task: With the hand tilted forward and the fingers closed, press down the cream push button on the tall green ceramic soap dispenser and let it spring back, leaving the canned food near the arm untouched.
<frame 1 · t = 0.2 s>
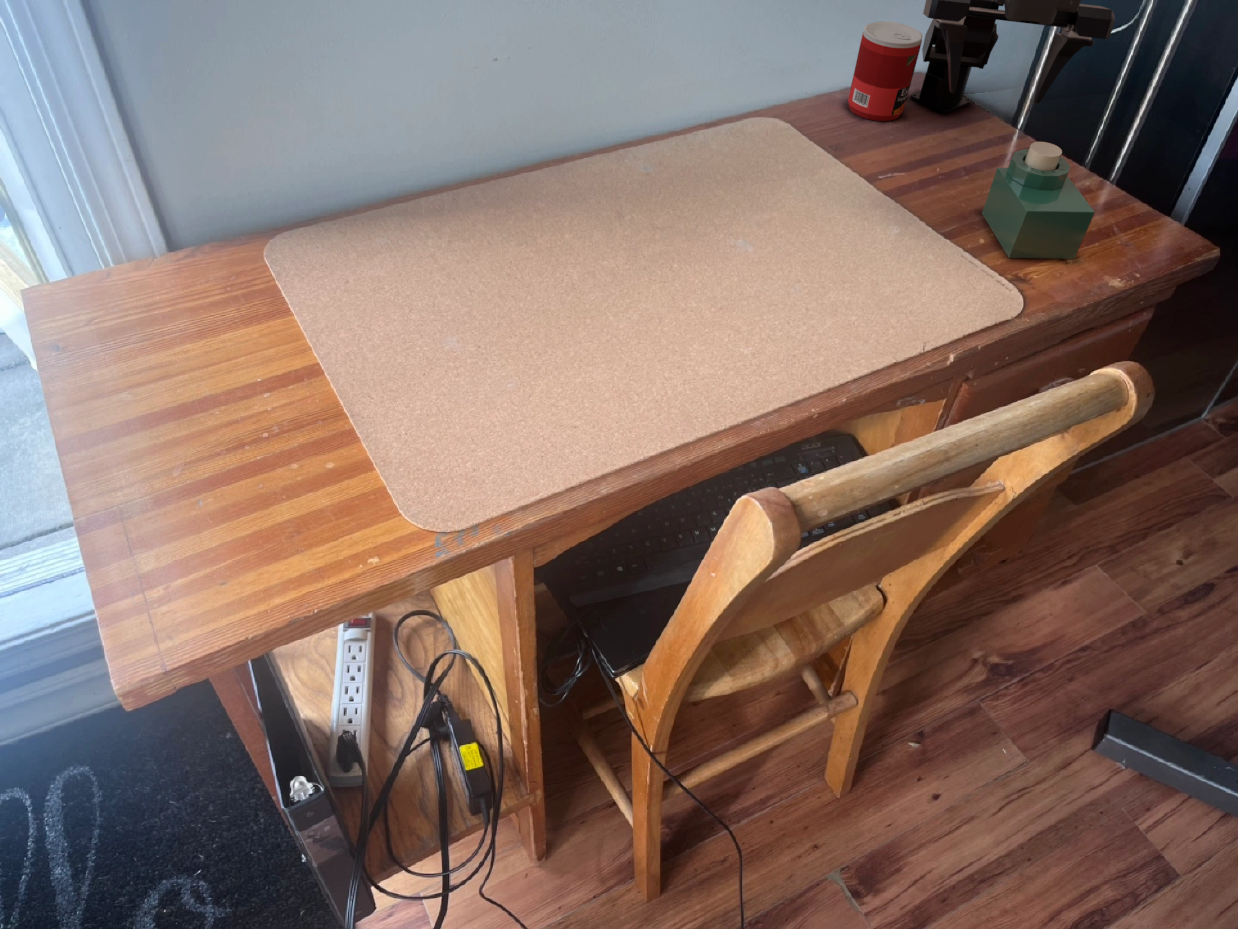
hand: (993, 97, 109), 15 cm above the table, tool pointing down, fingers open, 9 cm apart
canned food: (874, 111, 141), on the table
dispenser: (1026, 235, 118), on the table
cream push button: (1043, 156, 114), point 9 cm above the table, slide at 0.1 cm
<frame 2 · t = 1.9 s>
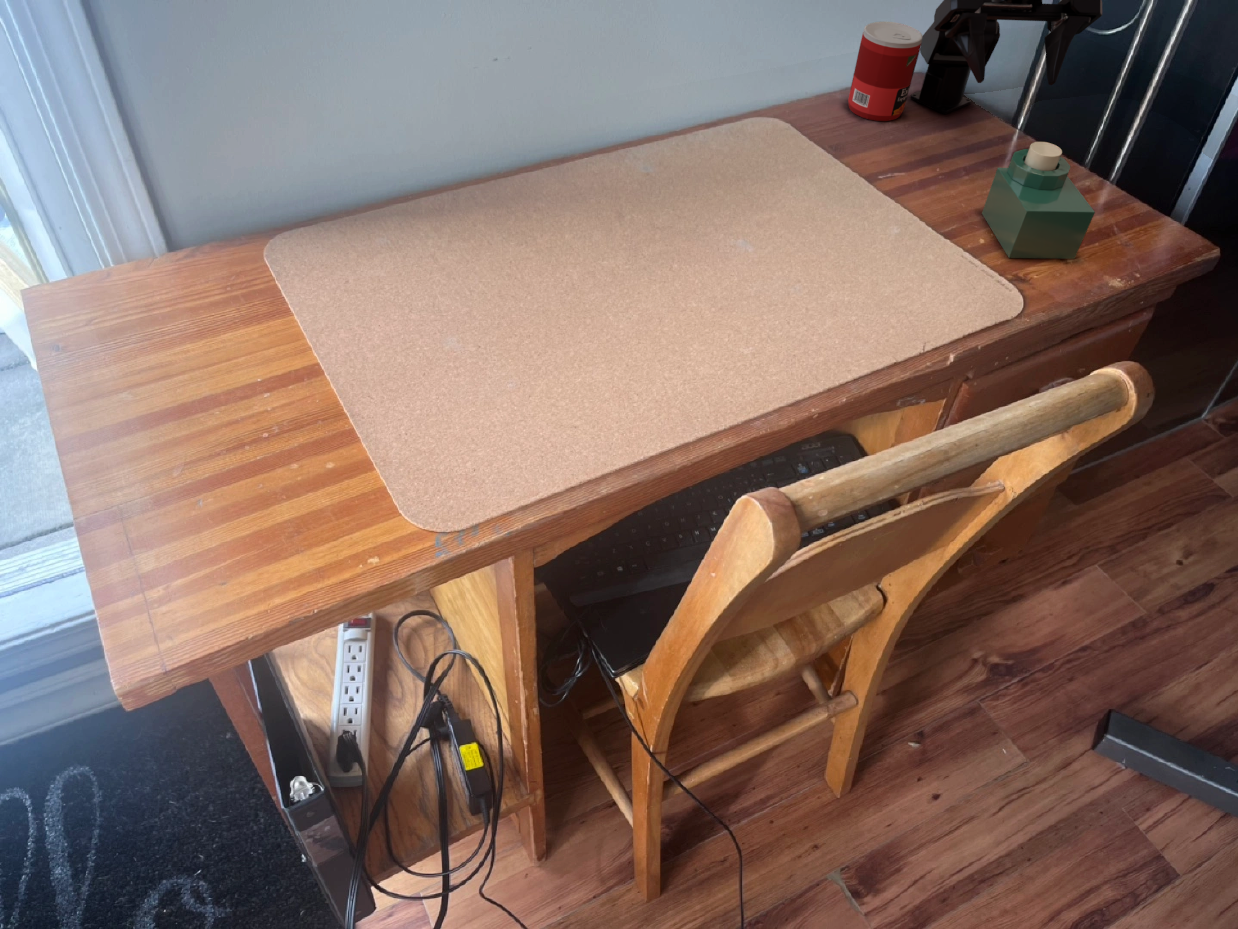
hand: (1016, 82, 120), 12 cm above the table, tool tilted 45°, fingers open, 9 cm apart
nothing on the table moved.
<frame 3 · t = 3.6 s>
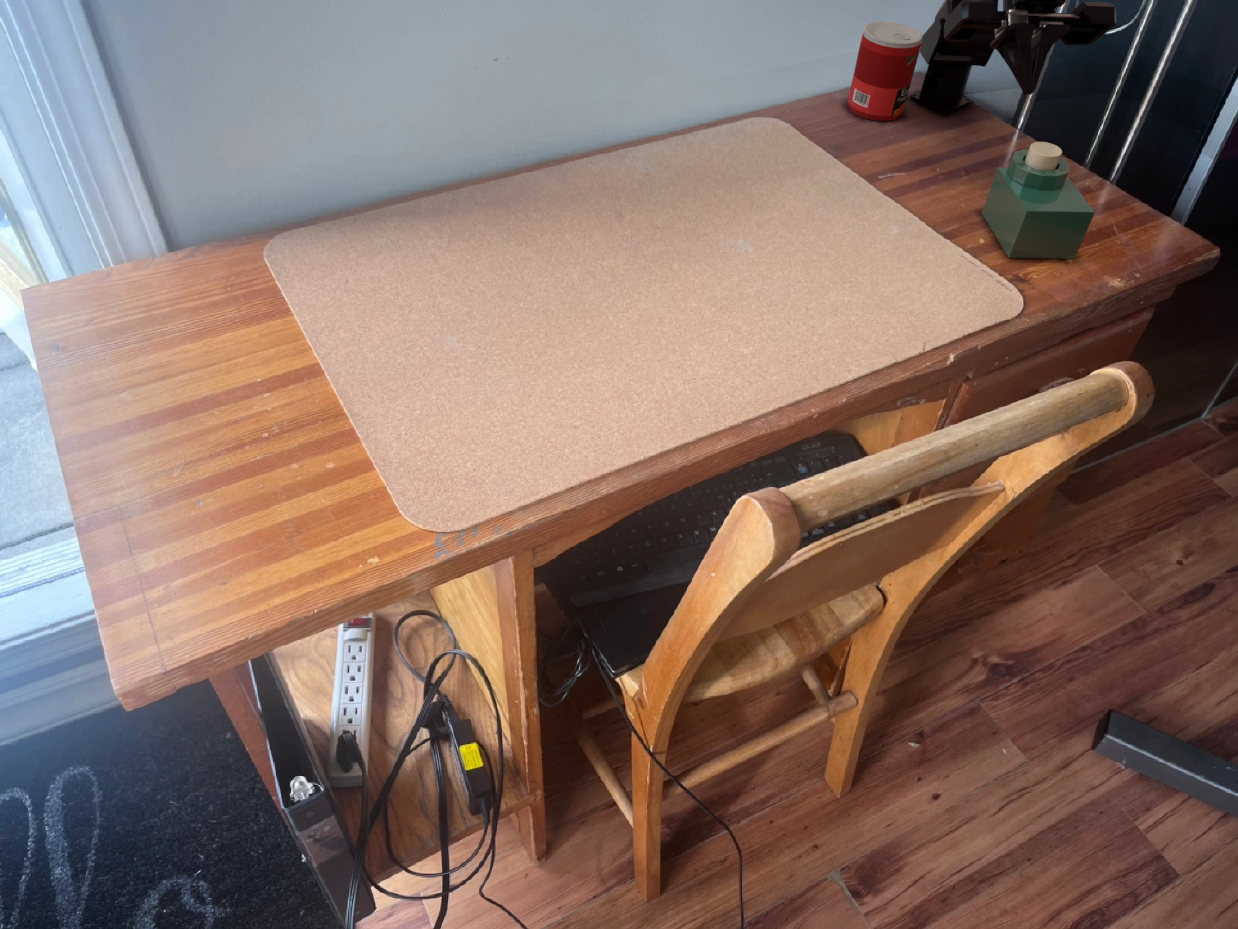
hand: (1029, 93, 117), 13 cm above the table, tool tilted 45°, fingers closed
nothing on the table moved.
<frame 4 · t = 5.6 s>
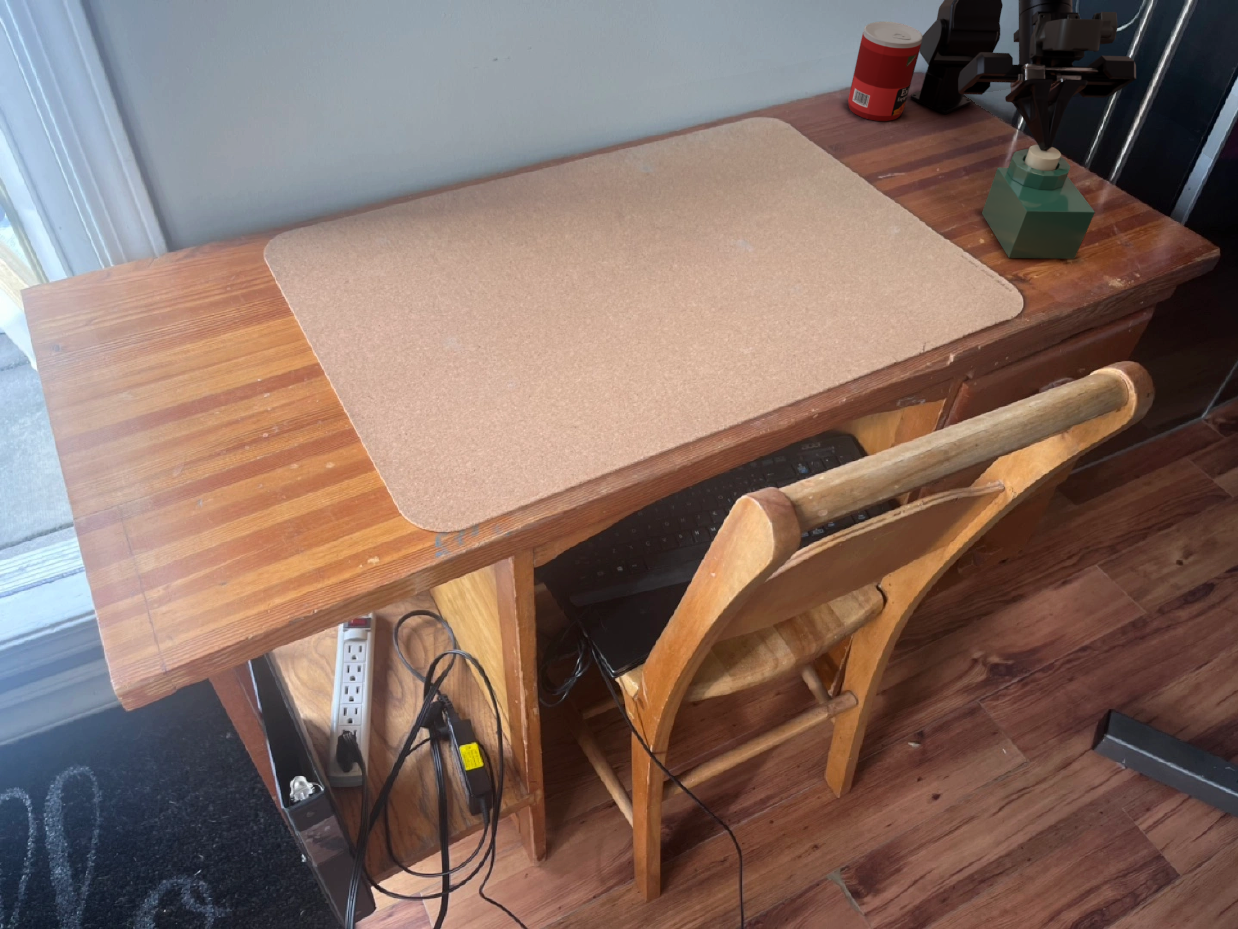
hand: (1046, 149, 114), 10 cm above the table, tool tilted 45°, fingers closed, pressing on cream push button
cream push button: (1042, 159, 115), point 8 cm above the table, slide at -0.3 cm, touching gripper
everything else where it was.
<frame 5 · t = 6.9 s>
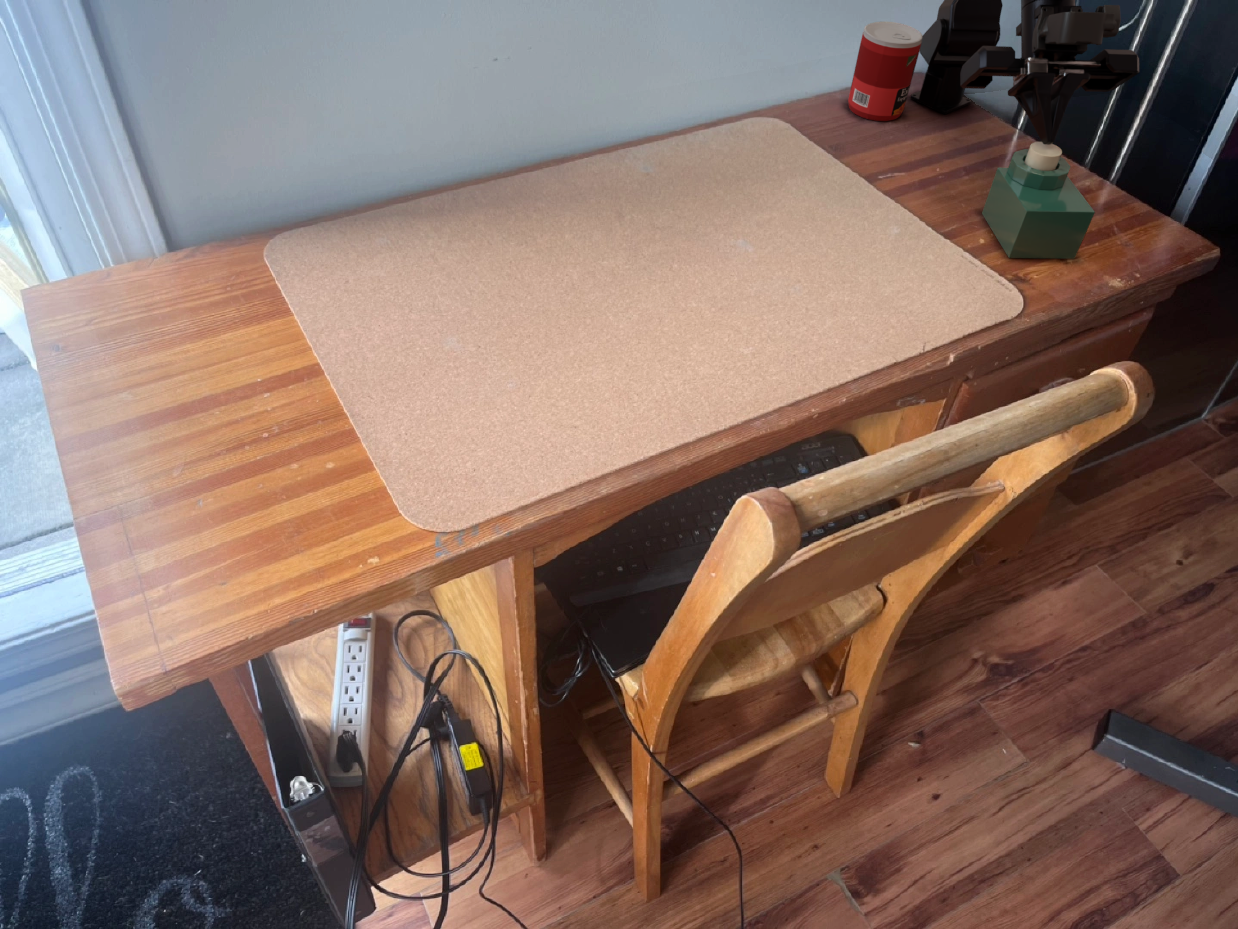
hand: (1048, 143, 113), 10 cm above the table, tool tilted 45°, fingers closed
cream push button: (1043, 156, 114), point 9 cm above the table, slide at 0.1 cm
everything else where it was.
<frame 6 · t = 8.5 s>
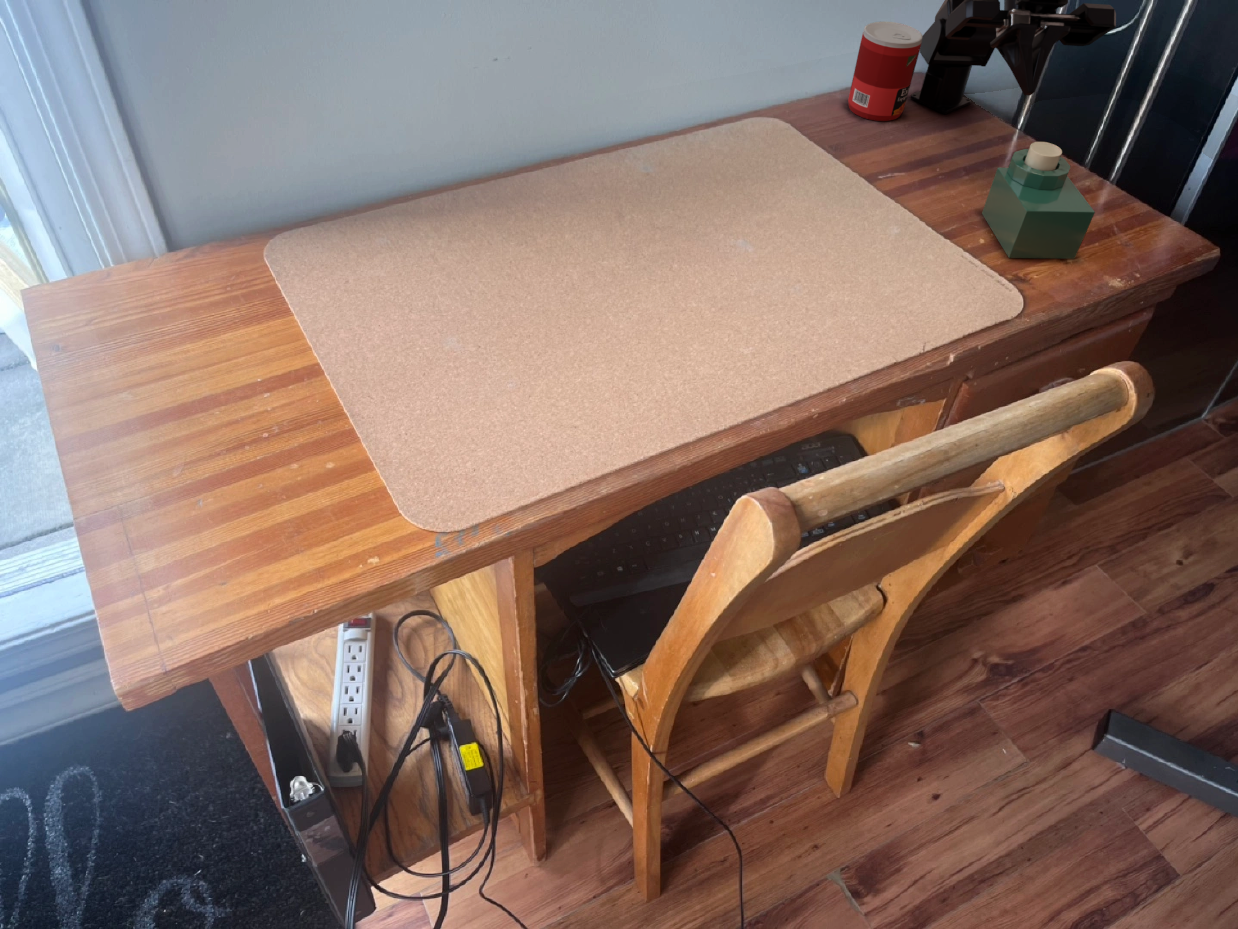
hand: (1029, 93, 117), 13 cm above the table, tool tilted 45°, fingers closed
nothing on the table moved.
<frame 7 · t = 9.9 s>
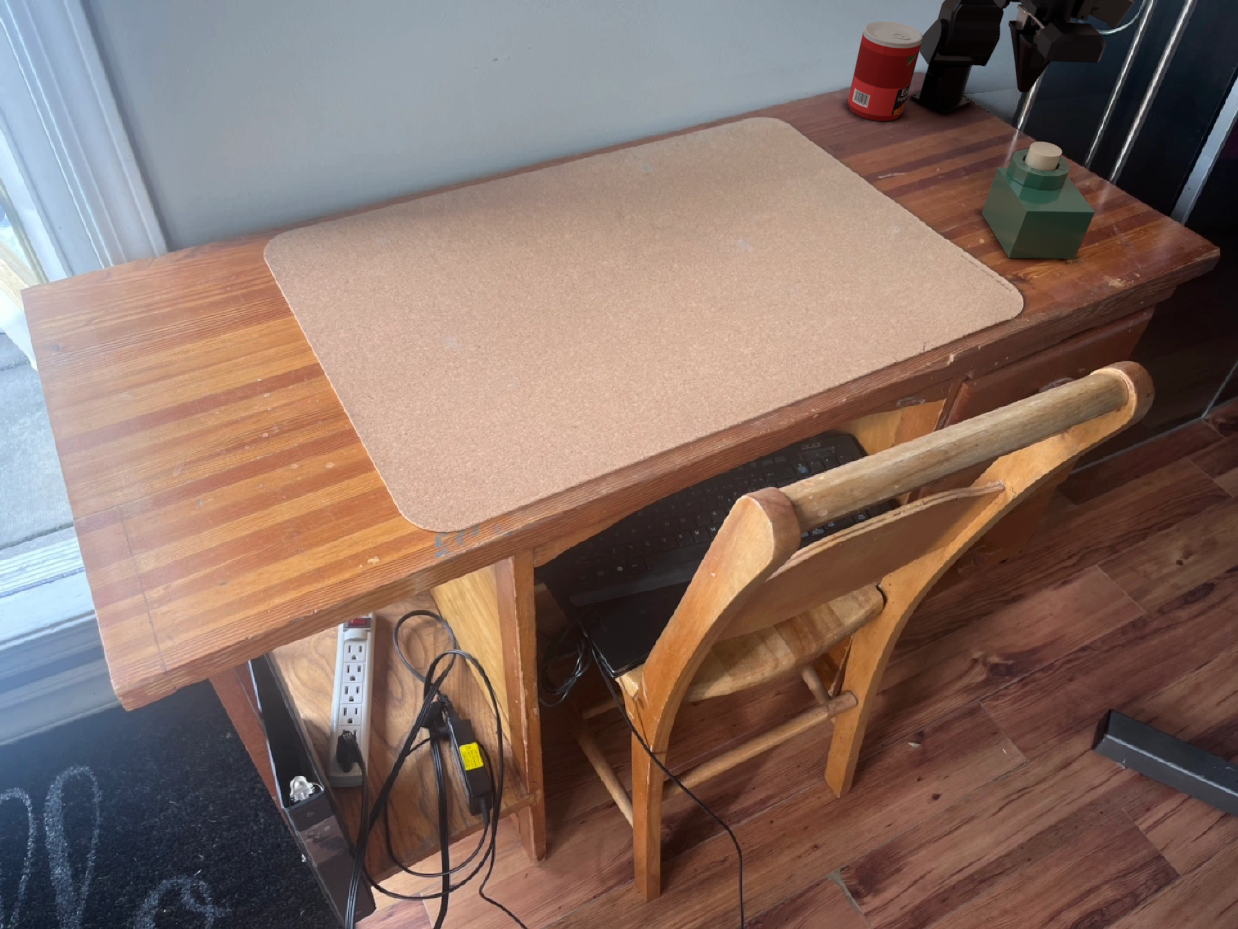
hand: (1022, 91, 119), 12 cm above the table, tool pointing down, fingers closed
nothing on the table moved.
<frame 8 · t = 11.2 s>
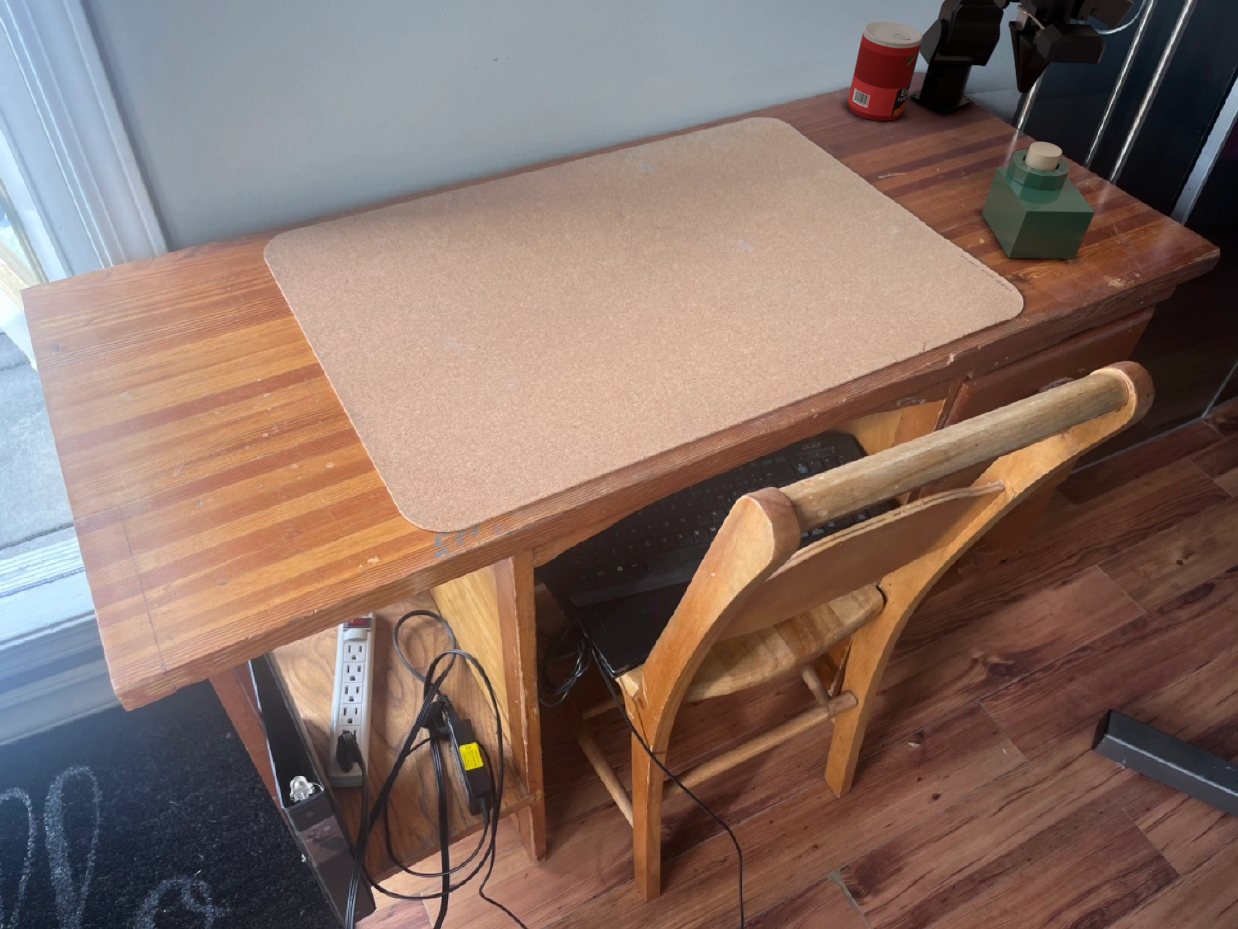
hand: (1022, 91, 119), 12 cm above the table, tool pointing down, fingers closed
nothing on the table moved.
at the end: cream push button pushed in 1.3 cm at the most during the clip, back to where it started at the end; cream push button slide at 0.1 cm; canned food moved 0.2 cm from its start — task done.
